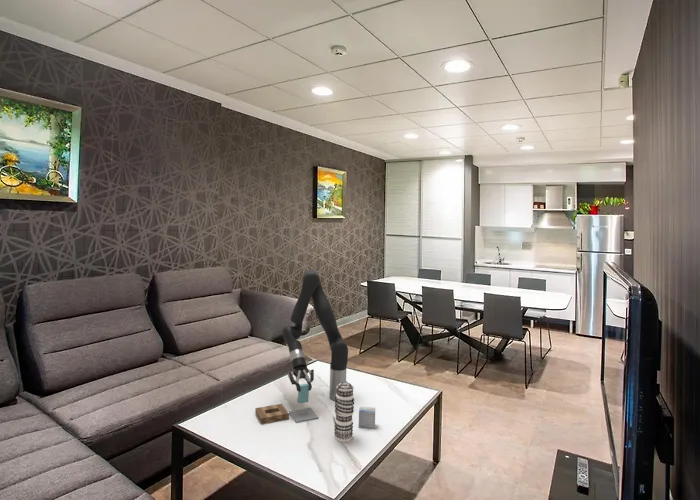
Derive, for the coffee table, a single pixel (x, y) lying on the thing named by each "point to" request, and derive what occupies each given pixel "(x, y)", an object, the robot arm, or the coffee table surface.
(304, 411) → the mat
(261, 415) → the holder
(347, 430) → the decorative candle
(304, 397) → the teal rectangular block
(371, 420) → the medicine box
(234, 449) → the coffee table surface
